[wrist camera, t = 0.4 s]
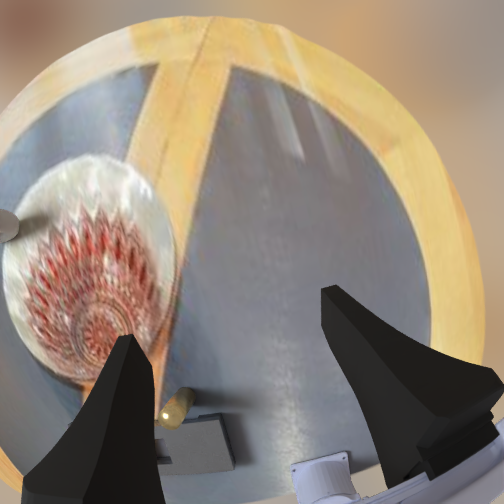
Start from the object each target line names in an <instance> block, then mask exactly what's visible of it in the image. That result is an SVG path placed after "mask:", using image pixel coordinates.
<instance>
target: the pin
mask: <svg viewBox="0 0 504 504" xmlns="http://www.w3.org/2000/svg"><path fill="white" fill-rule="evenodd" d="M195 399H196V395H195V393H194V391H193V390H192V389H190V388H188V387H182V388H180V389H178V391H177V392H176V393H175V394H174V395H173V397H172V398H171V399H170V400H169V402H168V403H167V404H166V405H165V407H164V408H163V409H162V410H161V411H160V413H159V414H158V421H159V423H160V424H161V426H163V427H164V428H166V429H168V430H175V429H177V428H179V427H180V425H181V423H182V422H183V420H184V418H185V417H186V415H187V413H188V412H189V410H190V408H191V407H192V405H193V403H194V401H195Z"/></svg>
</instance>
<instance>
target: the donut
mask: <svg viewBox="0 0 504 504" xmlns="http://www.w3.org/2000/svg"><path fill="white" fill-rule="evenodd" d="M18 231H19V220H18V218H17V217H16V216H15V215H14V214H13V213H12V212H10V211H7V210H3V209H0V243H3V242H6V241H9V240H11V239H12V238H14V237H15V236H16V235H17V233H18Z"/></svg>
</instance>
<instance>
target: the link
mask: <svg viewBox="0 0 504 504" xmlns="http://www.w3.org/2000/svg"><path fill="white" fill-rule="evenodd" d="M154 433H155V439H164V441H165V444H166V446H167V449H168V452H169V455H170V457H171V460H165V461H157V465H158V471H159V475H185V474H201V473H213V472H223V471H231V470H234V468H235V462H236V461H235V458H234V455H233V451H232V448H231V445H230V441H229V438H228V435H227V431H226V428H225V424H224V421H223V417H222V414H221V413H215V414H207V415H200V416H199V417H198V419H194V420H184V421H183V422H182V423H181V425H180V427H179V428H177V429H175V430H168V429H166V428H164V427H163V426H161V424H160V423H154Z"/></svg>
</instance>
